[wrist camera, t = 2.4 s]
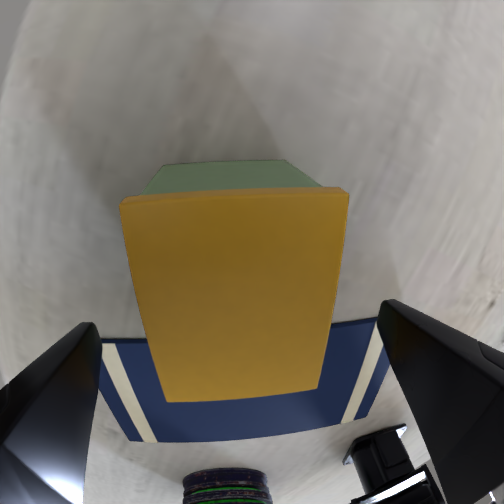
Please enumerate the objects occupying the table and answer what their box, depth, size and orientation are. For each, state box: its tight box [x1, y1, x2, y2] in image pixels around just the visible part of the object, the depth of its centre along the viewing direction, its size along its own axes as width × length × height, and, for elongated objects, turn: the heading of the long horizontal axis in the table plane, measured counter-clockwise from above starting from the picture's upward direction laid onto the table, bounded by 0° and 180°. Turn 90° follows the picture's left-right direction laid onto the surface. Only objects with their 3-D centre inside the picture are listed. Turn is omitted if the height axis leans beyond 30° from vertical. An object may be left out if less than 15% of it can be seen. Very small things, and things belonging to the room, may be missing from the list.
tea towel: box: [99, 318, 390, 443], centre depth 20 cm, size 12×21×1 cm, turn 90°
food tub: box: [119, 160, 349, 402], centre depth 12 cm, size 8×6×6 cm
